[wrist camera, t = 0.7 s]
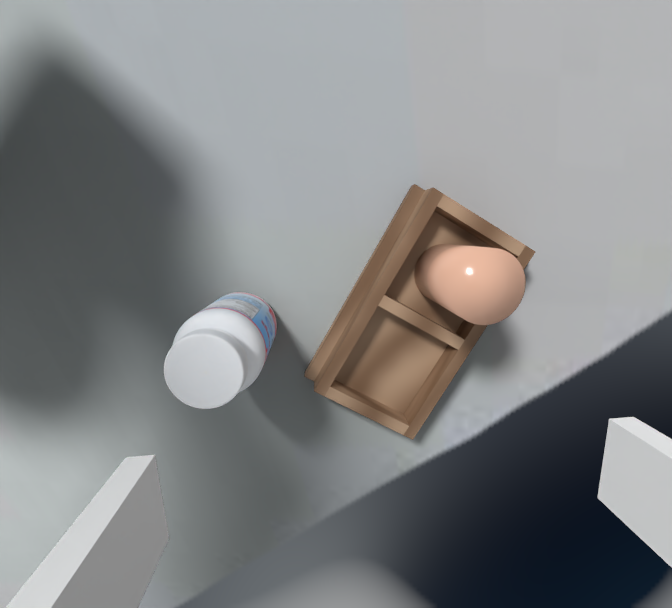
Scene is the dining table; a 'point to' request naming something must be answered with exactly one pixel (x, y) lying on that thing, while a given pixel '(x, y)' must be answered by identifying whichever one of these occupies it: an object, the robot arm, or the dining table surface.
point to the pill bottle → (220, 350)
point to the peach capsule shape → (471, 281)
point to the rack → (403, 319)
